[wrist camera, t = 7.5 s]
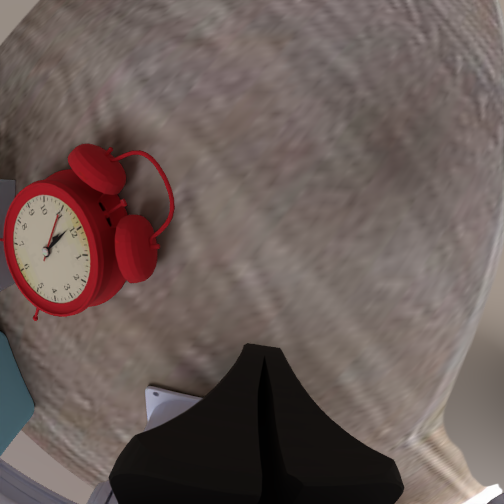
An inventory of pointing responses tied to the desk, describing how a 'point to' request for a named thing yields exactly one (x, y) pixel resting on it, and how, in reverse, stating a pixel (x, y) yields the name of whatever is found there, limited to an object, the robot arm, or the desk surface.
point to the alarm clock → (79, 235)
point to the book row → (3, 195)
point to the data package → (12, 397)
